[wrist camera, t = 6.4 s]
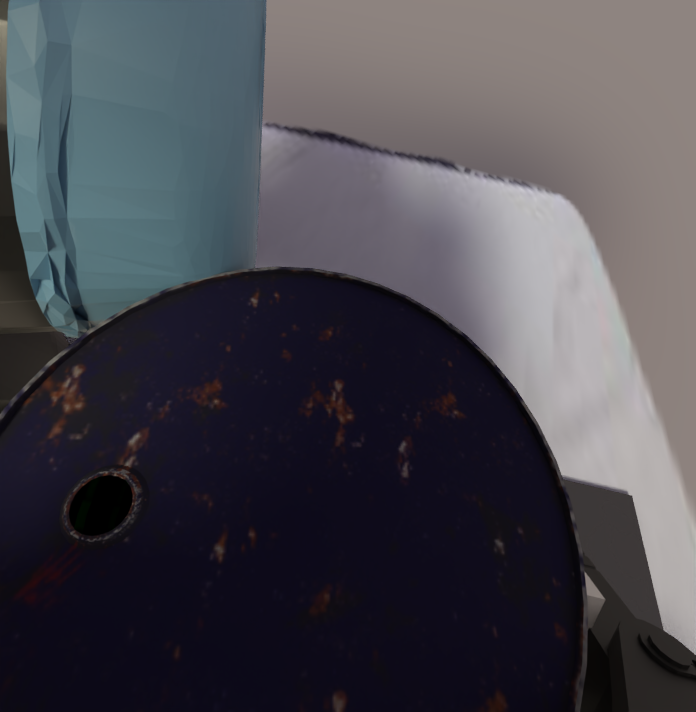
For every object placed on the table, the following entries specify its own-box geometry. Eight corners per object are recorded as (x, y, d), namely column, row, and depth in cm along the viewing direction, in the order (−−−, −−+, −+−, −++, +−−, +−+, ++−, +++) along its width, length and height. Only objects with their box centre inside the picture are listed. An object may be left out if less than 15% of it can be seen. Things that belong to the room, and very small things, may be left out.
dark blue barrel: (372, 437, 21) (515, 286, 8) (381, 636, 17) (720, 973, 4) (205, 432, 20) (63, 236, 7) (166, 649, 15) (-477, 1298, 2)
